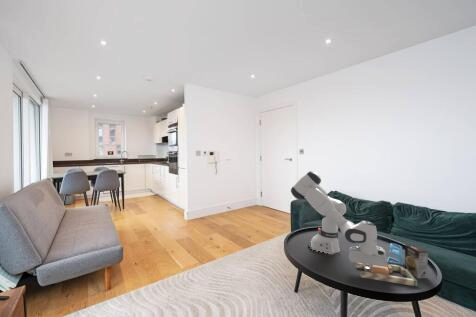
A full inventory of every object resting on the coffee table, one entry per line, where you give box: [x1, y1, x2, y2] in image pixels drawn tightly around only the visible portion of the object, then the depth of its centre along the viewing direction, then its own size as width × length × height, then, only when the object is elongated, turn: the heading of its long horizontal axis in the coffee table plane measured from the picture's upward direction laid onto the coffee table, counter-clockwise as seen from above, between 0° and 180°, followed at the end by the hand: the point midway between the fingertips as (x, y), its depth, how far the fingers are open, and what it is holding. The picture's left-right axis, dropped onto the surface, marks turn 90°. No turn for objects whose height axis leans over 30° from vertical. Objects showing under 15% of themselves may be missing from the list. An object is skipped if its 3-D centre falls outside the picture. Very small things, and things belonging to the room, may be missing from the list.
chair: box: [387, 242, 404, 266], centre depth 139 cm, size 8×8×12 cm
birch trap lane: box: [355, 262, 418, 287], centre depth 126 cm, size 27×16×3 cm, turn 72°
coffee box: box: [403, 244, 429, 279], centre depth 126 cm, size 9×6×16 cm
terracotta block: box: [370, 265, 390, 275], centre depth 125 cm, size 8×5×5 cm, turn 64°
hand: (367, 270), depth 127 cm, fingers closed
